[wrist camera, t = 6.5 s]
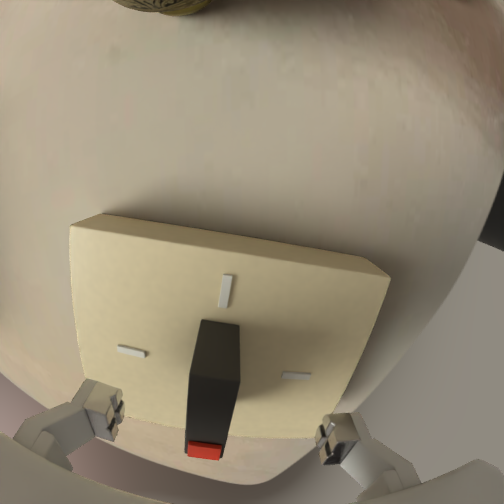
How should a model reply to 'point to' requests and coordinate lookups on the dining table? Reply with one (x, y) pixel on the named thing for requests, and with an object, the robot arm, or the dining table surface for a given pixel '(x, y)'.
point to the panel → (220, 319)
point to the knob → (212, 389)
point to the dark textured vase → (166, 6)
